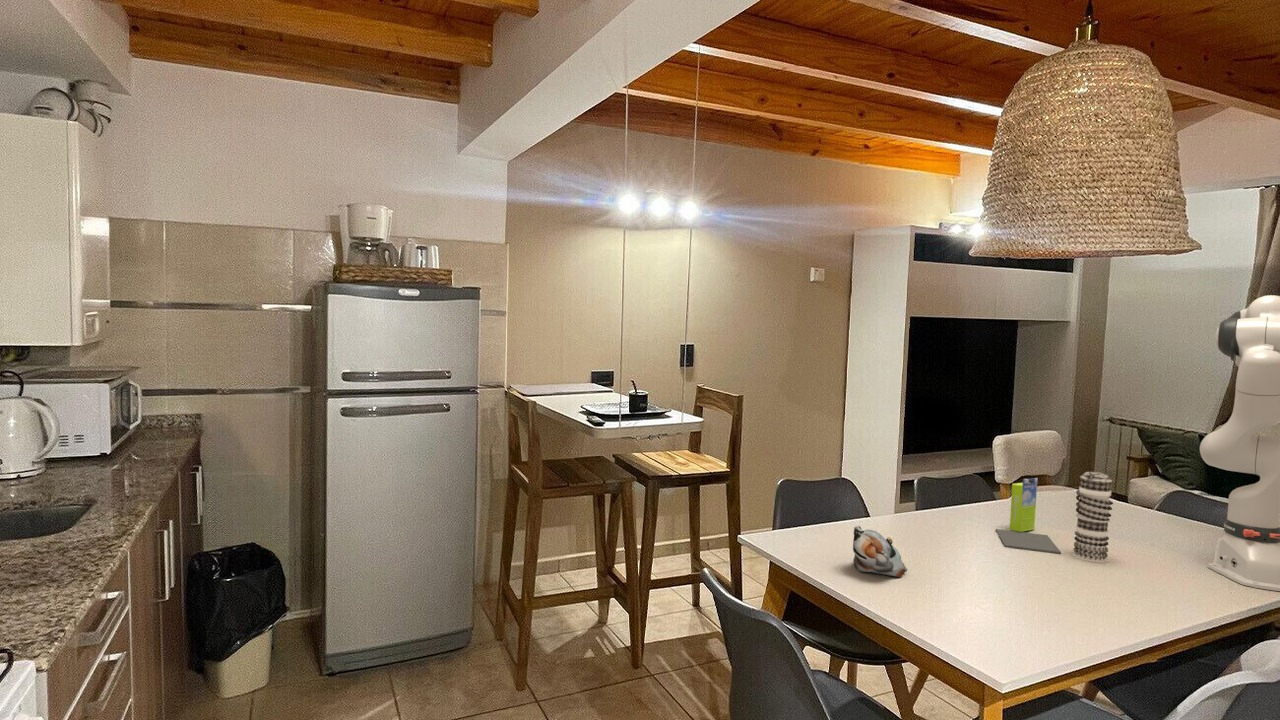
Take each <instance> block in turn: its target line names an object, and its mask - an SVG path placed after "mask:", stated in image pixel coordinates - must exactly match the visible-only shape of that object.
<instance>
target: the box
mask: <svg viewBox="0 0 1280 720" xmlns="http://www.w3.org/2000/svg"><path fill="white" fill-rule="evenodd" d="M1030 481H1031V482H1030ZM1037 489H1038V477H1033V478H1023V480H1022V482H1016V483H1012V484H1011V501H1010V516H1009V517H1010V518H1009V531H1016V532H1027V531H1033V530H1035V522H1036V508H1037V507H1036V506H1037V492H1038V490H1037Z"/></svg>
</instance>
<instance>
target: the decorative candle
mask: <svg viewBox="0 0 1280 720" xmlns="http://www.w3.org/2000/svg"><path fill="white" fill-rule="evenodd" d="M1079 478H1080V483H1079V487H1078V489H1077V490H1076V491H1075V493H1076V496H1075V499H1076V500H1077V502H1076V503H1075V505H1076V508H1075V512H1077V513H1076V514H1075V516H1076V518H1077V522H1076V523H1077V524H1076V527H1075V531H1074V535H1075V536H1074V540H1075V542H1073V546H1074V548H1073V553H1072V555H1073V557H1075V558H1077V559H1078V560H1082V561H1086V562H1089V563H1100V564H1102V563H1107V562H1108V556H1109V555H1108V552H1109V548H1108V547H1107V546H1109V542H1108V541H1109V540H1110V538H1109V530H1108V527H1109V525H1108V523H1110V522H1111V519H1110V518H1111V517H1112V514H1111V513H1110V512H1109V511H1112V510H1113V507H1111V506H1112V505H1113V504H1114V503H1113V501H1111V500H1110V499H1113V498H1114V495H1113V494H1112V490H1111V488H1112V485H1111V484H1112V482H1113V480H1112V479H1111V478H1110V476H1109V475H1108V474H1106V473H1103V472H1097V471H1086V472H1084V473H1083V474H1082V475H1079Z"/></svg>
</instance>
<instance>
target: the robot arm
mask: <svg viewBox="0 0 1280 720" xmlns="http://www.w3.org/2000/svg"><path fill="white" fill-rule="evenodd" d="M1214 340H1215V343H1216V346H1217V348H1218V350H1219V351H1220V352H1221V353H1222V354H1223V355H1225V356H1227V357H1229V358H1230V360H1231V361H1232V362H1234V363H1235V366H1236V367H1238V368H1237V369H1238V370H1237V374H1236V379H1235V392H1234V393H1235V394H1234V403H1233V409H1232V413H1231V416H1230V417H1229V419H1228V420H1227V422H1225V423H1224V425H1222V426H1221V427H1220V428H1218V429H1216V430H1215V431H1212V432H1210V433H1207V434H1206V436H1204V437H1203V439H1202V440H1201V442H1200V443H1199V444H1200V445H1199V454H1200V457H1201V458H1202V460H1203V462H1204V463H1205V464H1207V465H1208V466H1210V467H1215V468H1218V469H1221V470H1225V471H1230V472H1237V473H1244V474H1252V475H1256V476H1259V481H1257V482H1255V483H1251V484H1248V485H1247V484H1246V485H1243V486H1239V487H1235V489H1233V490H1232V491H1231V492H1230V493H1229V495H1228V503H1227V514H1226V515H1227V517H1226V518H1225V519H1224V523H1223V526H1224V527H1223V531H1224V534H1222V536H1221V537H1219V538H1218V539H1217V541H1216V546H1215V551H1214V552H1215V553H1214V558H1213V562H1209V563H1208V564H1207V568H1208V569H1210V570H1212V571H1214V572H1215V573H1218V574H1220V575H1222V576H1224V577H1226V578H1228V579H1230V580H1232V581H1234V582H1236V583H1238V584H1240V585H1242V586H1243V585H1244V586H1247V587H1251V588H1257V589H1260V590H1261V589H1262V590H1269V591H1276V592H1280V437H1279V436H1270V435H1269V436H1268V435H1260V434H1257V431H1259V430H1263V429H1266V428H1270V427H1273V426H1275V425H1278V424H1280V295H1274V294H1273V295H1271V294H1270V295H1263V296H1260V297H1258V298H1256V299H1254V300H1253V301H1252V302H1251V303H1250V304H1249V305H1248V307H1247V308H1244V309H1242V310H1238V311H1235V312H1234V313H1232V314H1231V316H1229V317H1227V318H1226V319H1224V320H1222V321H1221V322H1220V323H1219V326H1218V327H1217V329H1216V330H1215V335H1214Z"/></svg>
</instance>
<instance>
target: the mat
mask: <svg viewBox="0 0 1280 720" xmlns="http://www.w3.org/2000/svg"><path fill="white" fill-rule="evenodd" d="M996 531H997V532H996ZM995 532H996V534H997V533H998V534H997V536H998V535H999V536H998V538H999V537H1000V538H999V539H1001V540H1000V541H1001V544H1002V545H1003V546H1004V548H1009V549H1016V550H1017V549H1018V550H1026V551H1032V552H1033V551H1034V552H1041V553H1048V554H1057V555H1061V554H1062V552H1061V550H1060V549H1059V548H1058V546H1057V544H1055V543H1054V541H1053V540H1052V539H1051V537H1050V536H1049V535H1048V534H1040V533H1033V532H1032V533H1031V532H1026V531H1023V532H1016V531H1011V530H1008V529H1007V530H1006V529H998V528H995Z"/></svg>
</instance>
